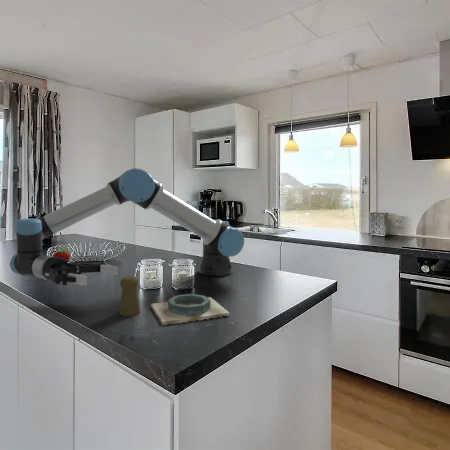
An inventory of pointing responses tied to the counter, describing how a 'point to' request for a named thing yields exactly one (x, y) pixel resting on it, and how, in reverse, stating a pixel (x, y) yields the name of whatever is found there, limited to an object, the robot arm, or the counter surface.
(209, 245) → the robot arm
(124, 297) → the cork
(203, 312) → the ring stand
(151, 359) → the counter surface
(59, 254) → the strawberry
